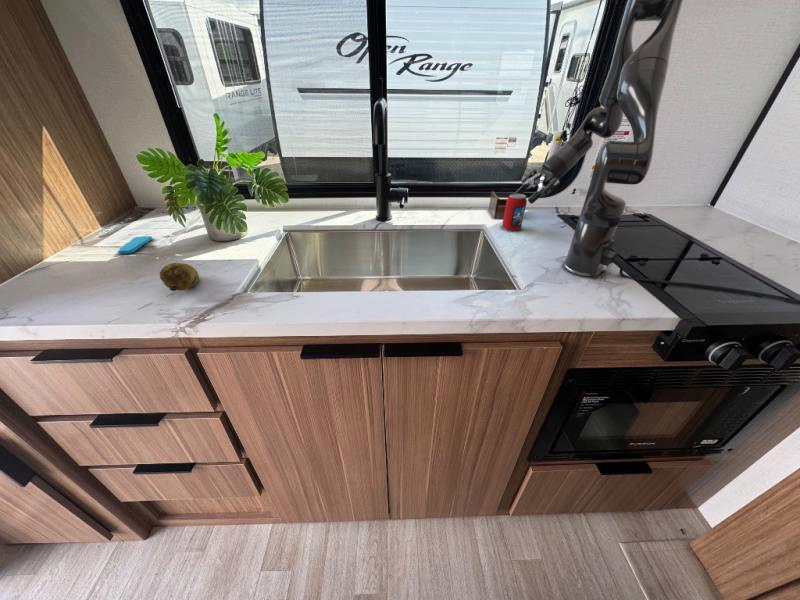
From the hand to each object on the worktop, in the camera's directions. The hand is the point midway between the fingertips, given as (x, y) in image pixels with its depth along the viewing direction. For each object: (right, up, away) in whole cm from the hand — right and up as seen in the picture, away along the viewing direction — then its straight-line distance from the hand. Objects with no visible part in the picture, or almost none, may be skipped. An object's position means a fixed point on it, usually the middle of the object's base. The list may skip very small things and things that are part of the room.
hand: (522, 198), depth 113 cm
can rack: (-1, -1, +18) cm, 18 cm away
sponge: (-131, -19, -8) cm, 132 cm away
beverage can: (-2, -9, +6) cm, 11 cm away
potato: (-99, -33, -29) cm, 109 cm away
